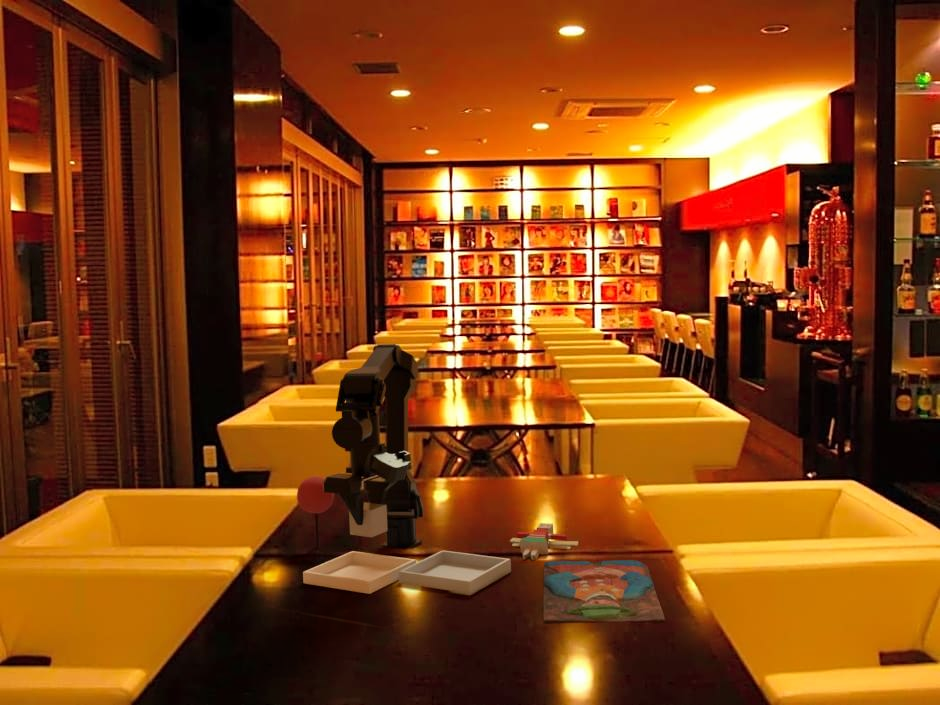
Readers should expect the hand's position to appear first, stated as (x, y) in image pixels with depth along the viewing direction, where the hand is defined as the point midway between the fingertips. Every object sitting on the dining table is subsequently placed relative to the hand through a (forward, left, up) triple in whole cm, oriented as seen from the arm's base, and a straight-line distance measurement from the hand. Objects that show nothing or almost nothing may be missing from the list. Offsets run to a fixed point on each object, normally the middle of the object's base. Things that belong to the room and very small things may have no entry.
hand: (368, 521), depth 191 cm
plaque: (-10, +42, -12) cm, 45 cm away
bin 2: (-7, +15, -11) cm, 19 cm away
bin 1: (+1, -2, -11) cm, 11 cm away
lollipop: (-14, -24, -11) cm, 30 cm away
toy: (-30, +20, -12) cm, 38 cm away
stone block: (0, 0, -2) cm, 2 cm away
